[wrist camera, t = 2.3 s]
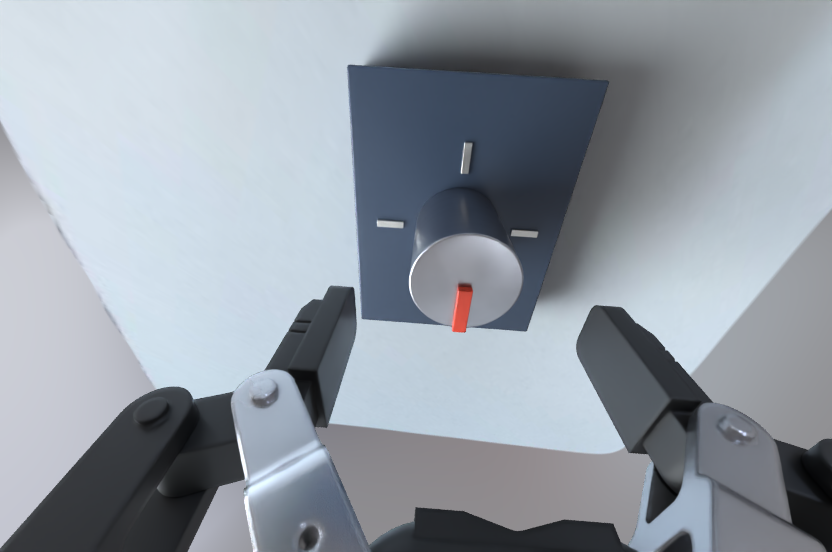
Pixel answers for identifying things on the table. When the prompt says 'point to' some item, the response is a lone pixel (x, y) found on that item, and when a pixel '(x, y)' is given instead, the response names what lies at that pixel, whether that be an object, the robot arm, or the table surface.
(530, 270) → the dial panel
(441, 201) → the silver rotary knob
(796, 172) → the table surface
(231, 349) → the table surface
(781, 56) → the table surface
